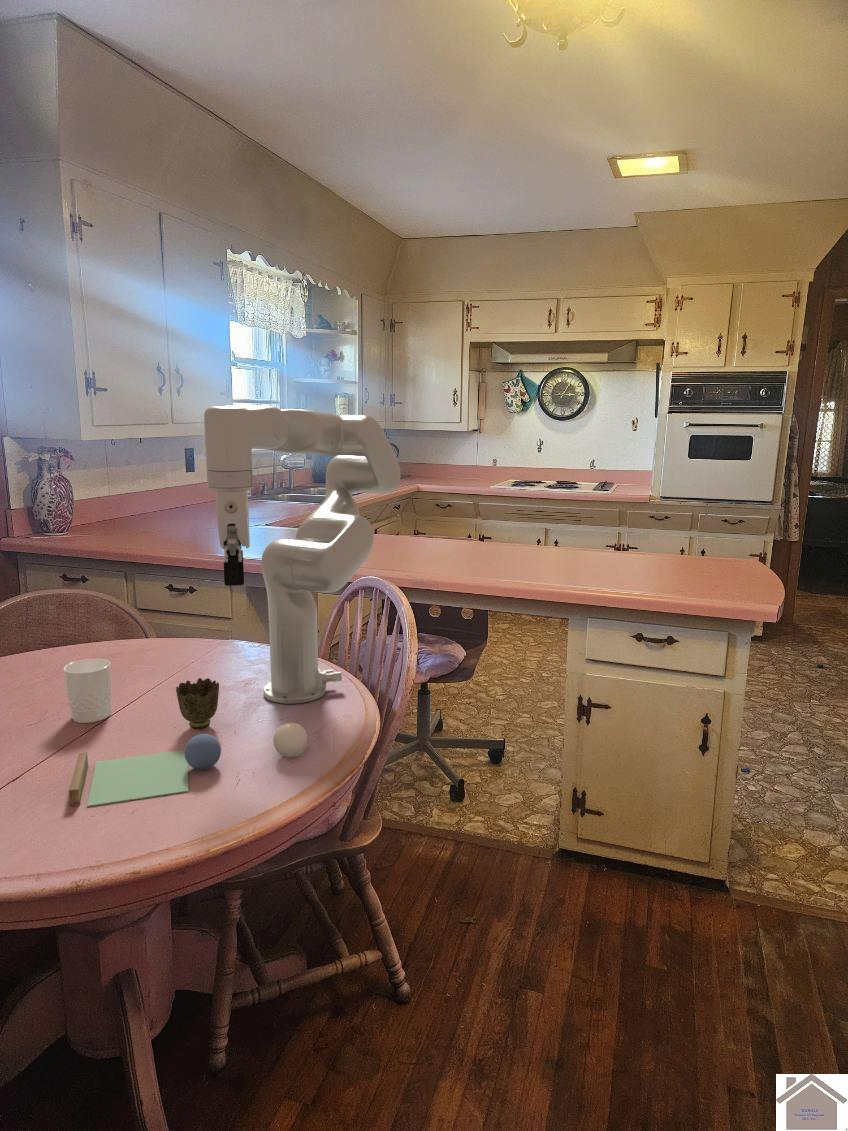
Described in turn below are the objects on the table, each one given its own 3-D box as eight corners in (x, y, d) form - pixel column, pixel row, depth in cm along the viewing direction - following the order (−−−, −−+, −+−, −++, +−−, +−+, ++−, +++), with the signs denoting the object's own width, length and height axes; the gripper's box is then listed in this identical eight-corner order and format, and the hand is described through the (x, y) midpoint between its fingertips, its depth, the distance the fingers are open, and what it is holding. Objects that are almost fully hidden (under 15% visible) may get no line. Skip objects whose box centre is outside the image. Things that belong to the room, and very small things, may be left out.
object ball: (220, 757, 120) (219, 726, 119) (222, 773, 115) (221, 740, 114) (185, 762, 118) (183, 730, 117) (185, 778, 113) (183, 745, 112)
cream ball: (304, 745, 124) (304, 715, 123) (310, 760, 119) (309, 729, 118) (271, 750, 123) (270, 719, 121) (276, 765, 117) (275, 733, 116)
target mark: (186, 750, 122) (186, 749, 122) (188, 791, 109) (188, 790, 109) (96, 762, 118) (96, 761, 118) (87, 807, 105) (87, 805, 105)
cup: (182, 739, 126) (179, 696, 125) (175, 722, 133) (172, 681, 131) (225, 730, 130) (223, 689, 128) (216, 715, 136) (214, 675, 134)
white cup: (97, 726, 131) (92, 674, 129) (58, 722, 132) (53, 671, 130) (123, 709, 138) (119, 660, 136) (86, 705, 140) (82, 656, 138)
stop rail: (88, 766, 116) (86, 752, 116) (79, 804, 105) (78, 789, 105) (80, 767, 116) (78, 753, 115) (70, 806, 105) (68, 790, 104)
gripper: (254, 485, 116) (257, 589, 119) (251, 475, 132) (255, 567, 136) (205, 486, 114) (210, 591, 117) (208, 476, 130) (213, 568, 134)
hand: (234, 578), depth 127 cm, fingers open, 9 cm apart
